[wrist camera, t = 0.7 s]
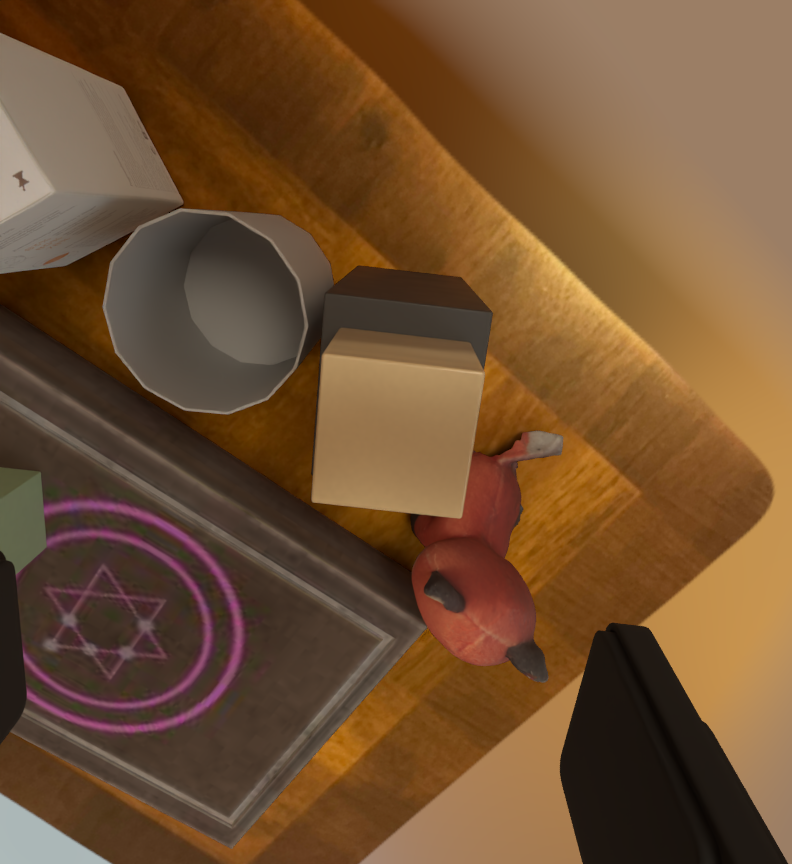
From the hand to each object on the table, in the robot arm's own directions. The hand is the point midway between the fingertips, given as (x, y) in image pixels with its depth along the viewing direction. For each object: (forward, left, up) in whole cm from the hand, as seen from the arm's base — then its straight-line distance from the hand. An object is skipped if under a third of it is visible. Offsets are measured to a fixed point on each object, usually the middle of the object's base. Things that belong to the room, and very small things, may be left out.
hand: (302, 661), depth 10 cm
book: (+17, -14, -28) cm, 35 cm away
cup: (-2, -7, -28) cm, 28 cm away
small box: (-7, -16, -28) cm, 33 cm away
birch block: (-1, +1, -13) cm, 13 cm away
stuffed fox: (+8, +8, -28) cm, 30 cm away
